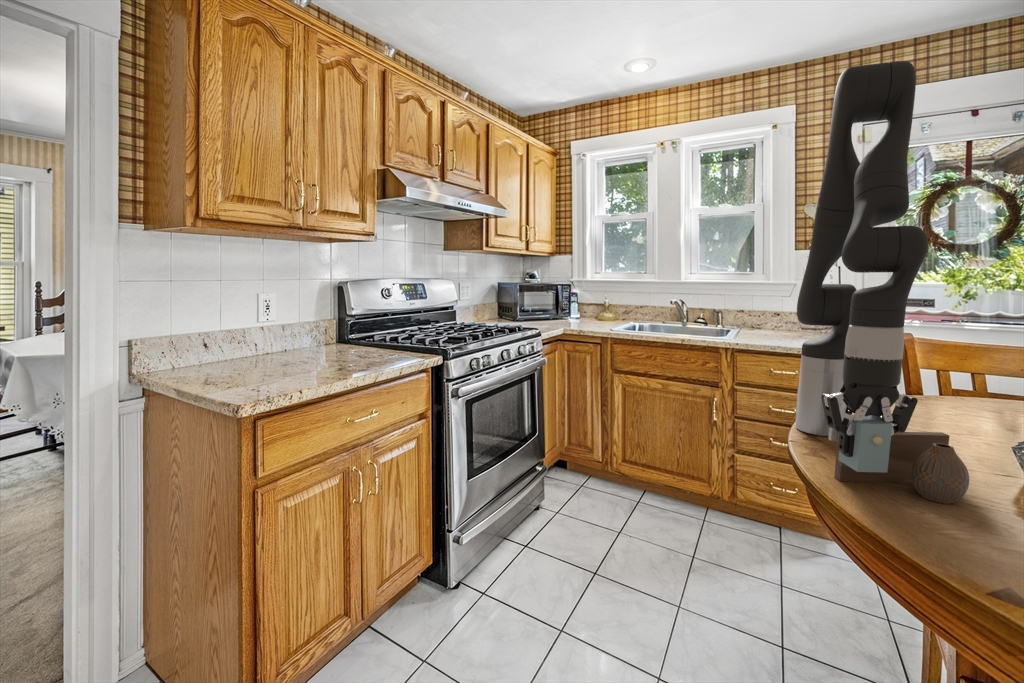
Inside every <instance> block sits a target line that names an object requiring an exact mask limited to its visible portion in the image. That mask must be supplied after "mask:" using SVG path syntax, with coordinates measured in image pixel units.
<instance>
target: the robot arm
mask: <svg viewBox="0 0 1024 683" xmlns="http://www.w3.org/2000/svg"><path fill="white" fill-rule="evenodd" d="M916 76H917V75H916V70H915V66H914V65H913V64H912V63H911V62H910V61H908V60H896V61H887V62H886V61H885V62H880V63H873V64H872V63H871V64H863V65H862V64H861V65H855V66H850V67H847V68H846V69H844V70H843V71H842V72H841V74H840V75H839V78H838V81H837V83H836V87H835V92H834V97H833V105H832V110H831V121H830V128H829V136H828V137H829V138H828V145H827V155H826V160H825V167H824V171H823V174H822V175H823V176H822V180H821V185H820V188H819V194H818V198H817V202H816V208H815V213H814V221H813V227H812V235H811V241H810V242H811V243H810V247H809V248H810V249H809V255H808V259H807V262H806V266H805V270H804V274H803V278H802V283H801V286H800V290H799V293H798V298H797V303H796V317H797V320H798V322H799V323H800V324H802V325H806V326H817V327H818V326H819V327H820V326H821V327H822V326H823V327H832V329H831V330H830V331H829V332H828V333H826V334H824V335H821V336H819V337H817V338H813V339H809V340H806V341H804V342H803V343H802V345H801V353H800V354H801V355H800V356H801V357H800V369H799V380H798V386H797V395H796V396H797V397H796V407H795V408H796V409H795V421H794V422H795V423H796V424H795V423H794V424H795V428H796V429H797V430H799V431H801V432H804V433H807V434H810V435H815V436H821V437H822V436H823V437H829V427H830V428H833V429H835V430H836V431H838V432H839V445H838V448H839V450H840V451H841V453H842V454H843V455H845V456H847V457H852V456H853V450H854V439H855V436H854V435H853V434H854V432H855V430H856V424H857V423H858V422H862V420H863V418H864V416H870V415H871V417H874V418H876V419H878V420H880V421H883V422H885V423H890V424H892V433H891V436H892V435H893V434H894V433H897V432H907V431H906V430H907V429H908V426H909V423H910V421H911V418H912V416H913V414H914V411H915V409H916V407H917V405H918V401H919V399H917V397H914V396H911V395H908V394H905V393H900V391H899V390H898V389H899V388H898V386H899V385H900V384H901V379H902V378H901V376H902V368H903V367H902V366H903V361H904V360H903V357H904V350H905V323H906V322H905V320H906V310H907V303H908V298H909V295H910V292H911V289H912V287H913V284H914V281H915V279H916V278H917V275H918V273H919V271H920V269H921V267H922V264H923V263H924V261H925V259H926V256H927V253H928V251H929V239H928V236H927V234H926V232H925V231H924V229H922V228H921V227H919V226H915V225H897V226H895V225H894V226H880V225H886V224H890V223H892V222H895V221H897V220H899V219H901V218H902V217H903V216H905V214H906V213H907V212H908V210H909V207H910V192H909V177H908V157H909V156H908V155H909V154H908V152H909V146H910V139H911V133H912V132H911V131H912V125H913V115H914V109H915V108H914V107H915V98H916V97H915V96H916V86H917V85H916V84H917V77H916ZM880 121H881V122H882V121H887V125H886V128H885V130H884V131H883V134H882V135H881V136H880V138H879V139H878V141H876V142H875V144H874V146H873V147H871V149H870V150H869V152H868V151H867V153H866V155H865V157H863V158H862V160H861V162H860V160H859V158H858V156H857V153H856V151H855V148H854V144H853V139H852V138H853V137H852V129H853V125H854V124H856V123H869V122H880ZM840 258H841V261H842V263H843V265H844V266H845V268H846V269H848V270H849V271H850V272H853V273H858V274H859V273H861V274H862V273H864V274H865V273H869V274H870V273H892V275H891V276H890V278H889V279H888V280H887V281H886V282H884V283H883V284H880V285H877V286H870V287H864V288H860V289H859V288H858V289H857V288H856V287H855V286H854V285H853V284H848V283H824V281H825V278H826V277H827V275H828V273H829V271H830V270H831V268H832V267H833V266H834V265H835V264H836V262H838V260H839V259H840ZM893 405H894V408H893V411H892V410H891V407H893ZM890 444H891V442H890ZM889 452H890V451H889Z"/></svg>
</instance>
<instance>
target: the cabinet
mask: <svg viewBox="0 0 1024 683" xmlns="http://www.w3.org/2000/svg"><path fill="white" fill-rule="evenodd" d="M891 433H892V424H890V423H885V422H883V421H880V420H878V419H876V418H874V417H871V415H870V416H864V418H863V420H862V422H858V423H857V424H856V430H855V432H854V434H853V435H854V436H855V439H854V450H853V456H852V457H847V456H845V455H843V454H842V453H841V451H840V450H839V461H841V462H842V463H844V464H846V465H847V466H849V467H850V468H852V469H854V470H855V471H857V472H887V470H888V461H889V451H890V442H891ZM827 437H828V438H827V439H828V440H829V441H831V442H837V441H838V431H836V430H835V429H833V428H830V427H829V436H827Z"/></svg>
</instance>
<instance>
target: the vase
mask: <svg viewBox="0 0 1024 683" xmlns="http://www.w3.org/2000/svg"><path fill="white" fill-rule="evenodd" d="M911 479H912V483H911V484H912V486H913V487H914V488H915V491H916V492H917V493H918V494H919V495H920V496H921V497H922V498H924V499H927V500H928V501H931V502H935V503H940V504H954V503H956V502H958V501H959V500H961V499H963V497H964V496H966V494H967V491H968V489H969V486H970V473H969V471H968V468H967V466H966V464H965V463H964V461H963V460H962V459H961V457H960V456H959V455H958V454H957V452H956V450H955V448H954V446H952V445H950V444H949V445H947V444H943V443H934V444H933V445H932V446H931V447H930V448H929V449H928V450H927V451H925V452H924V453H922V454H921V455H920V456H919V457H917V459H916V460H915V462H914V464H913V466H912V470H911Z"/></svg>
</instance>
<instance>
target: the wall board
mask: <svg viewBox="0 0 1024 683" xmlns="http://www.w3.org/2000/svg"><path fill="white" fill-rule="evenodd" d="M836 442H837V444H836V452H835V465H834V475H833V477H834V479H836V480H838V481H839V482H857V483H858V482H859V483H860V482H863V483H865V482H866V483H867V482H869V483H904V484H905V483H908V484H910V483H911V484H913V483H912V479H911V470H912V466H913V464H914V462H915V460H916V459H917V457H919V456H920V455H921V454H922V453H924V452H925V451H927V450H928V449H929V448H930V447H931V446H932V445H933V444H934V443H943V444H947V445H950V444H949V443H950V435H949V434H947V433H944V432H943V431H941V432H939V431H938V432H935V431H930V432H929V431H924V432H923V431H905V432H897V433H894V434H893V435H892V436H891V444H890V452H889V461H888V470H887V472H857V471H855V470H854V469H852V468H850V467H849V466H847V465H846V464H844V463H842V462H841V461H839V448H838V445H839V432H838V441H836Z"/></svg>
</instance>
